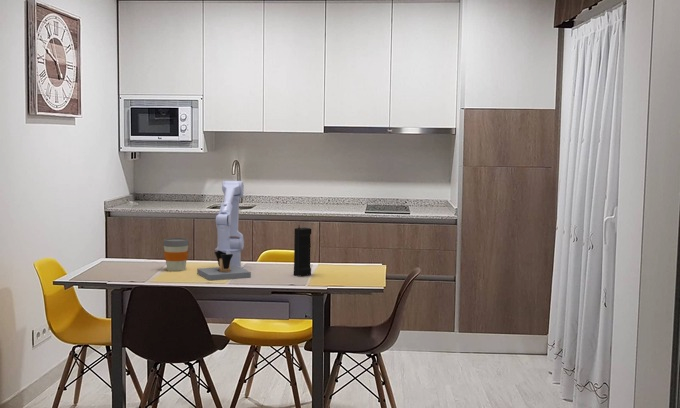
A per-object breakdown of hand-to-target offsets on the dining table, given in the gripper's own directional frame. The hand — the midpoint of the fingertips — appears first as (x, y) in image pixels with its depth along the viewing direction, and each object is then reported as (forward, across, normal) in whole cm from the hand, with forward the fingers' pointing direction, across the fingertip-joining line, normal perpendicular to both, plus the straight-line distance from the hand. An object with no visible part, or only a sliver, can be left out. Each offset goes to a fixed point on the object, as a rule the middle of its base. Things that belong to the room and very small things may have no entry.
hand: (223, 267), depth 380 cm
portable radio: (+4, +14, +35) cm, 38 cm away
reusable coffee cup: (+4, -26, -16) cm, 31 cm away
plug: (+4, 0, +1) cm, 4 cm away
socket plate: (+4, 0, 0) cm, 4 cm away
